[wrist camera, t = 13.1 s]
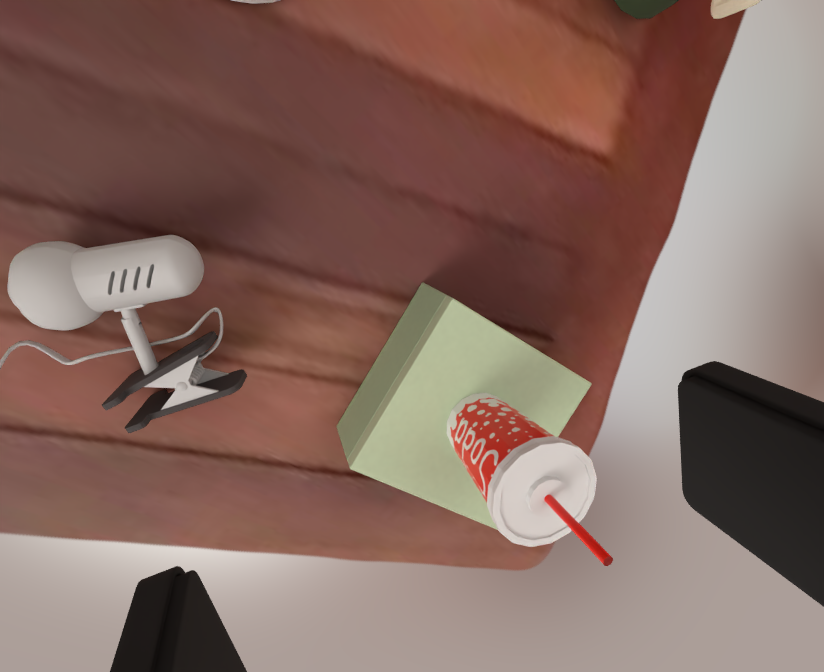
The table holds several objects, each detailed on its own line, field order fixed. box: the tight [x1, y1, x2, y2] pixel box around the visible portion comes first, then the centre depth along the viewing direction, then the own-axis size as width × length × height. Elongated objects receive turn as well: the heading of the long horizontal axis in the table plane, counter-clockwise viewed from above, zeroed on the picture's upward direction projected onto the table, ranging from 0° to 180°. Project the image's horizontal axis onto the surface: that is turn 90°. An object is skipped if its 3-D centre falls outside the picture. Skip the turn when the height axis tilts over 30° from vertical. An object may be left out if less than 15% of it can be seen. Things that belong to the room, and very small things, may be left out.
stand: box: [337, 283, 591, 530], centre depth 37 cm, size 13×13×7 cm
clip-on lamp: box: [0, 235, 247, 433], centre depth 29 cm, size 12×6×18 cm
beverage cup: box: [447, 393, 613, 566], centre depth 28 cm, size 6×6×14 cm
